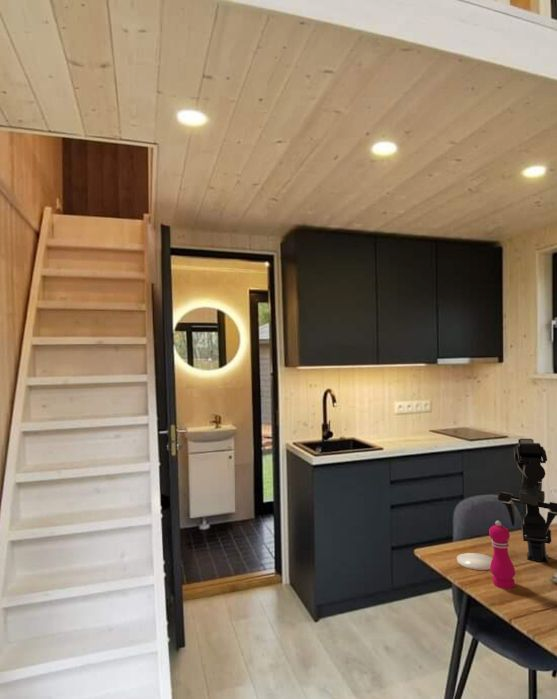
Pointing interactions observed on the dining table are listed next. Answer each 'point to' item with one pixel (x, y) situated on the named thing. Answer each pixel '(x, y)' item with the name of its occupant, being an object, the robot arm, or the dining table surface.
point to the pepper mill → (501, 557)
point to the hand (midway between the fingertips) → (529, 529)
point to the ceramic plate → (474, 561)
